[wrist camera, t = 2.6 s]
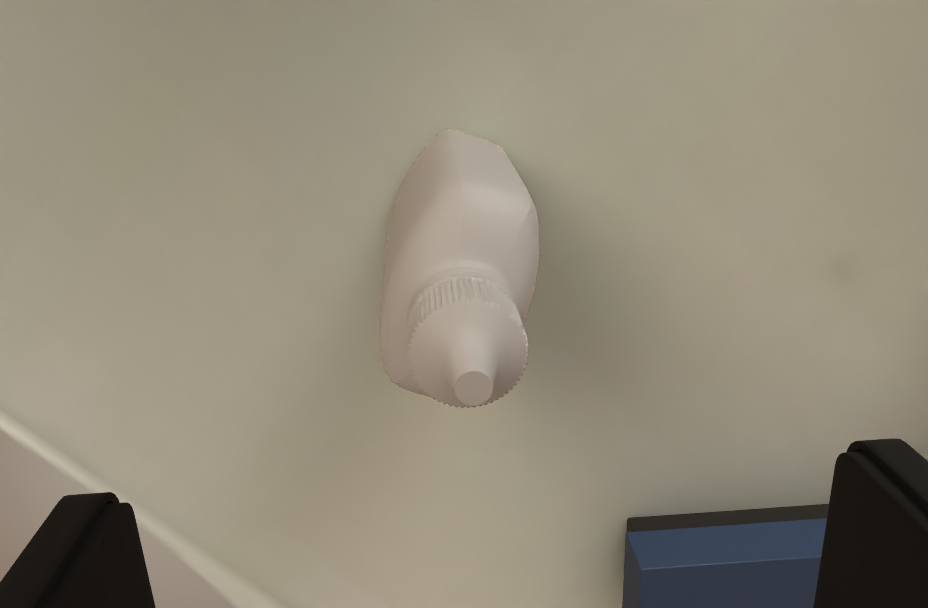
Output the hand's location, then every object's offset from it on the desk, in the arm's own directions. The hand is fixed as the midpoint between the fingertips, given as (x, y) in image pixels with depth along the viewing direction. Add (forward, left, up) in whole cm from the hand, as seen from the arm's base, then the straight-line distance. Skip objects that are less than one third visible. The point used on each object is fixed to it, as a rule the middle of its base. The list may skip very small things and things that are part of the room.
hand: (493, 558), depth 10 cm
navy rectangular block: (+14, +12, -16) cm, 24 cm away
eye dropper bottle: (0, 0, -16) cm, 16 cm away
